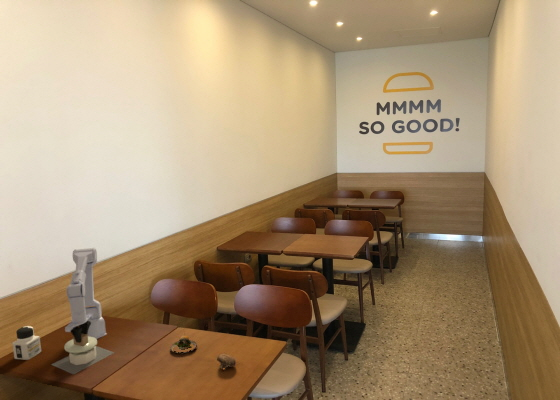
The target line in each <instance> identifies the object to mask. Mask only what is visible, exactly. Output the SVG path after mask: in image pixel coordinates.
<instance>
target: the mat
mask: <svg viewBox="0 0 560 400" xmlns="http://www.w3.org/2000/svg"><path fill="white" fill-rule="evenodd" d="M96 354H97V355H96V357H95V359H94V360H92V361H90V362H88V363H86V364H80V365H75V364H72V363H70V357H69V355H68V356H65V357H64V358H61V359H60V360H57V361H56V362H54V363H52V364H51V366H54V367H56V368H58V369H60V370H63V371H64V372H67V373H69V374H71V375H75V374H77V373H79V372H81V371H83V370H85V369H87V368H89V367H91V366H93V365H94V364H96V363H98V362H101V361H102V360H104V359H105V358H108V357H109V356H111V355H113V354H115V352H113V351H111V350H110V349H109V350H108V349H105V348H103V347H100V346H97V345H96Z"/></svg>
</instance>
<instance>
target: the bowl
mask: <svg viewBox="0 0 560 400" xmlns="http://www.w3.org/2000/svg"><path fill="white" fill-rule="evenodd" d="M96 346H97V345H96ZM96 346H95V347H94V348H92V349H90V350H88V351H85V352H81V353H70V352H68V353H69V354H68V356H69V357H70V363H72V364H75V365H80V364H86V363H88V362H90V361H92V360H94V359H95V357H96V355H97V354H96Z"/></svg>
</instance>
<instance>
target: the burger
mask: <svg viewBox="0 0 560 400" xmlns="http://www.w3.org/2000/svg"><path fill="white" fill-rule="evenodd" d="M191 344H193V345H194V346H195V348H194V349H192V350H191V351H195V349H196V347H197V348H198V344H197V342H196V341H195V340H190V338H189V336H187V335H185V331H184V335H182V336H181V337H179V340H178V341H175V342H174V343H173V344H171V345H170V350H169V351H170V352H173V353H177V354H179V353H178V352H174V351H173V348H174V347H175V346H176V345H177V346H178V347H179V349H181V350H185V349H188V348H192V346H190V345H191ZM196 350H197V349H196ZM191 351H190V352H191ZM186 353H189V351H188V352H183V353H182V354H186Z"/></svg>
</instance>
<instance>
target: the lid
mask: <svg viewBox="0 0 560 400" xmlns="http://www.w3.org/2000/svg"><path fill="white" fill-rule="evenodd" d="M72 336H73V335H72ZM97 345H98V339H96V338H94V337H89V336H88V334H83V333H81V342H80V343H78V342H76V341H75V338H74V336H73V338H72V339H70V340H68V341H67V342H66V343H65V344H64V350H65V352H67V353H81V352H85V351H88V350H90V349H92V348H94V347H95V346H97Z"/></svg>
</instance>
